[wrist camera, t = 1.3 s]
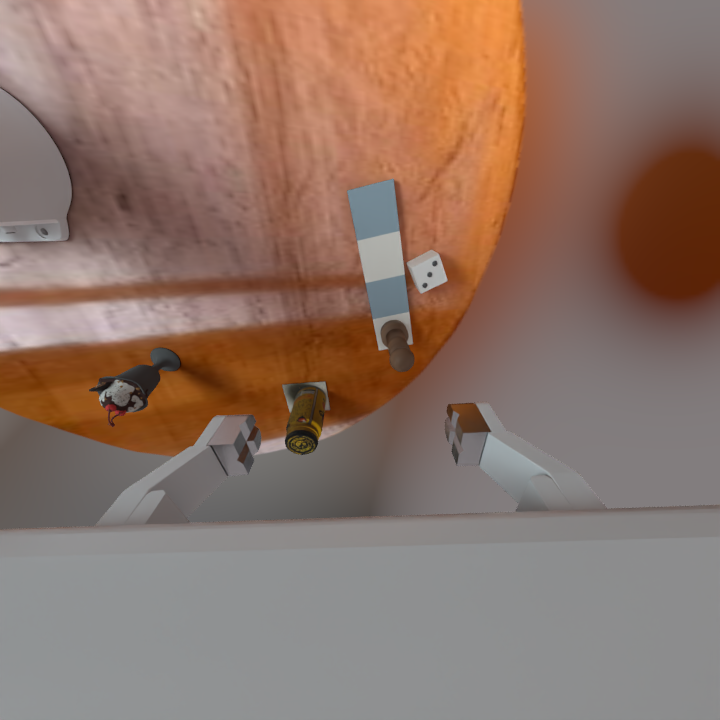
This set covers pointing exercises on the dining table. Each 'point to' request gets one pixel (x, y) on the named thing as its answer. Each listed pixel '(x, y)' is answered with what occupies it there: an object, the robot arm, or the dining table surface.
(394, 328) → the pawn
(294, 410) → the condiment
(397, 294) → the board
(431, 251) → the die
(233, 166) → the dining table surface
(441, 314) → the dining table surface
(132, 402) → the sundae
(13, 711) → the robot arm
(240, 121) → the dining table surface
